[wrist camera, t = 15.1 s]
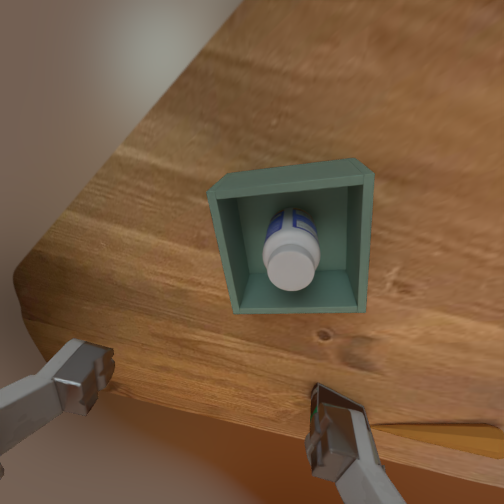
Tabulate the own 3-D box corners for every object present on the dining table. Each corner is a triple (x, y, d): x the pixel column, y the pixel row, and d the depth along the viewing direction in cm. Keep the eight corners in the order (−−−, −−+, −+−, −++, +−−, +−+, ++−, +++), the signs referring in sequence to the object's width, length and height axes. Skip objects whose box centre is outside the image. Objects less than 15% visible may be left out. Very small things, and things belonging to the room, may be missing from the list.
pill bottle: (273, 251, 32) (265, 301, 24) (264, 210, 30) (251, 249, 21) (318, 245, 31) (326, 296, 23) (312, 201, 29) (319, 239, 20)
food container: (289, 396, 46) (287, 462, 37) (309, 378, 43) (313, 446, 34) (347, 425, 47) (358, 496, 39) (371, 410, 44) (389, 483, 36)
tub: (245, 275, 36) (233, 314, 29) (226, 173, 29) (205, 191, 23) (351, 271, 33) (365, 312, 26) (355, 157, 27) (374, 173, 20)
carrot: (498, 418, 42) (516, 440, 38) (499, 444, 42) (517, 469, 38) (362, 405, 48) (364, 423, 44) (364, 428, 49) (367, 448, 44)
